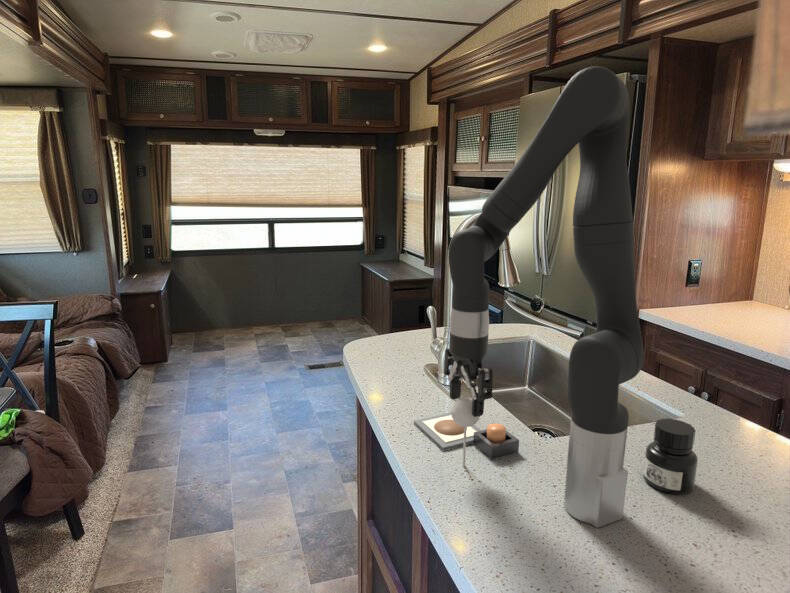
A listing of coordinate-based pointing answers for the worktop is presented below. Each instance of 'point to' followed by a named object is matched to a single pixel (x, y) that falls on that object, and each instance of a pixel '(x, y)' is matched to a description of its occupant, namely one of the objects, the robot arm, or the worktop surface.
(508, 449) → the button housing
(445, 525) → the worktop surface
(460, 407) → the lollipop
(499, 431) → the button
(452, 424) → the board
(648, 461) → the ink bottle
